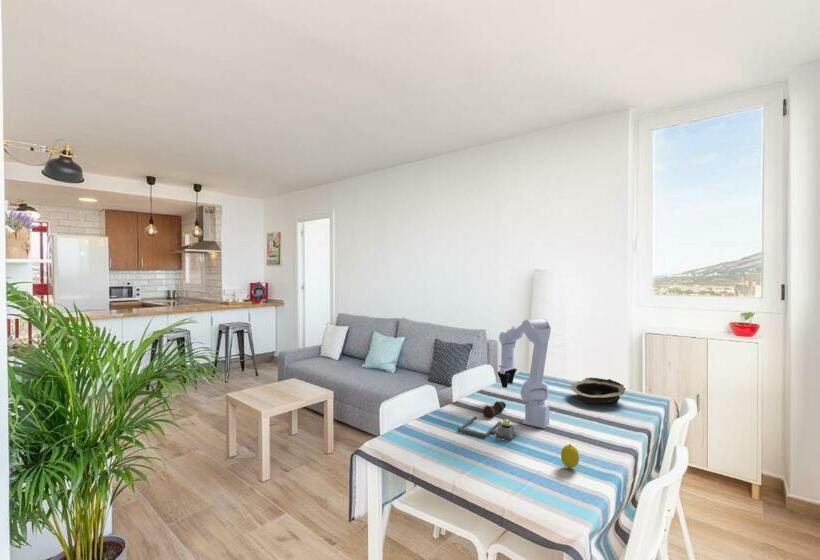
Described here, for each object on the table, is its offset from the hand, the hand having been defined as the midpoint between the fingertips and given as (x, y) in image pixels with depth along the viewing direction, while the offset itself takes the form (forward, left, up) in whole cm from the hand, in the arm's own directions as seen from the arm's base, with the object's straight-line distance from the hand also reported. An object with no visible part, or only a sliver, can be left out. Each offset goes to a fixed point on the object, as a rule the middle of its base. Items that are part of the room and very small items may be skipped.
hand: (507, 385), depth 192 cm
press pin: (-12, +35, -5) cm, 37 cm away
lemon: (-38, +47, -10) cm, 61 cm away
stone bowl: (-35, -29, -10) cm, 47 cm away
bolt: (+1, +13, -10) cm, 16 cm away
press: (-4, +33, -9) cm, 34 cm away
